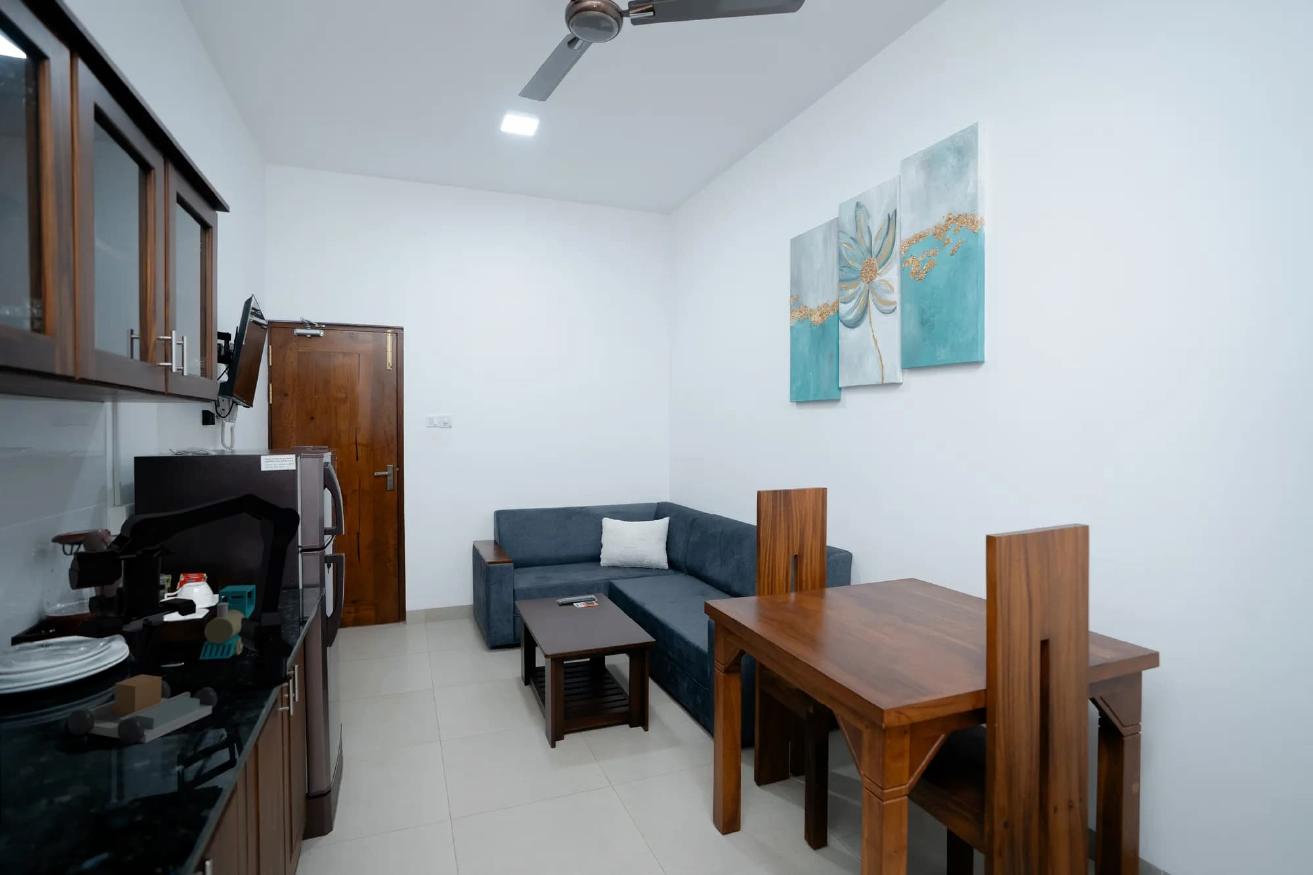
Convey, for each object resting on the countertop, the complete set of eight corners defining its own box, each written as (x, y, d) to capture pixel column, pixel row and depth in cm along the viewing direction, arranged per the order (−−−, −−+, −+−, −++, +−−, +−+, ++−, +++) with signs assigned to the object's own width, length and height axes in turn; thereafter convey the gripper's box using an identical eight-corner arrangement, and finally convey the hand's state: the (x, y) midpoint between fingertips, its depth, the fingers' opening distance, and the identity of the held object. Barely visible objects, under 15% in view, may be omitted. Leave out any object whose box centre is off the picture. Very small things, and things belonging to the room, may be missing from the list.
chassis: (152, 700, 133) (153, 678, 133) (218, 710, 129) (218, 688, 129) (66, 733, 118) (66, 709, 118) (137, 746, 113) (138, 721, 113)
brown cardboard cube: (141, 704, 127) (141, 674, 127) (160, 707, 126) (161, 677, 126) (114, 714, 122) (115, 683, 122) (134, 718, 121) (135, 686, 121)
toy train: (195, 663, 154) (197, 601, 155) (223, 641, 171) (225, 585, 171) (232, 661, 156) (234, 600, 156) (257, 640, 173) (258, 584, 173)
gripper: (157, 568, 135) (155, 642, 135) (55, 587, 117) (52, 673, 117) (199, 572, 132) (197, 647, 132) (101, 592, 114) (99, 680, 114)
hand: (139, 661), depth 124 cm, fingers closed
